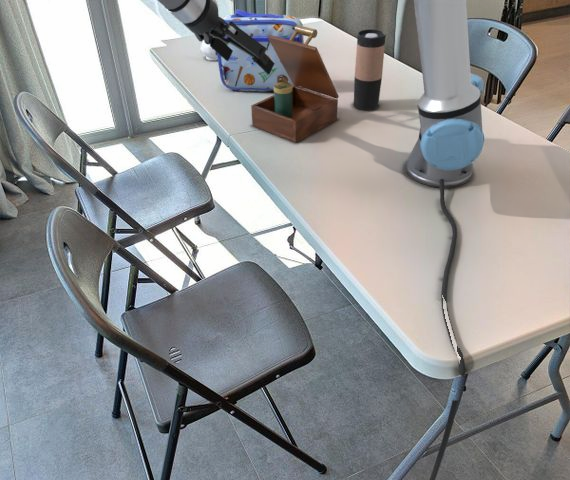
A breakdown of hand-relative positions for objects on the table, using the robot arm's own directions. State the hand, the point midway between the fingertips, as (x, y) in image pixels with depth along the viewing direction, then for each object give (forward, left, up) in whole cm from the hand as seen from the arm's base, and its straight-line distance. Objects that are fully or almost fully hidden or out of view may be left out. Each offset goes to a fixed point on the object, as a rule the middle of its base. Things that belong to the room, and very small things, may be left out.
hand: (249, 62), depth 128 cm
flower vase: (+63, +22, -21) cm, 70 cm away
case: (+13, -10, -21) cm, 27 cm away
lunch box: (+38, +3, -21) cm, 43 cm away
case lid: (+16, -12, -7) cm, 21 cm away
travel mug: (+25, -30, -21) cm, 44 cm away
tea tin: (+9, -7, -20) cm, 23 cm away
